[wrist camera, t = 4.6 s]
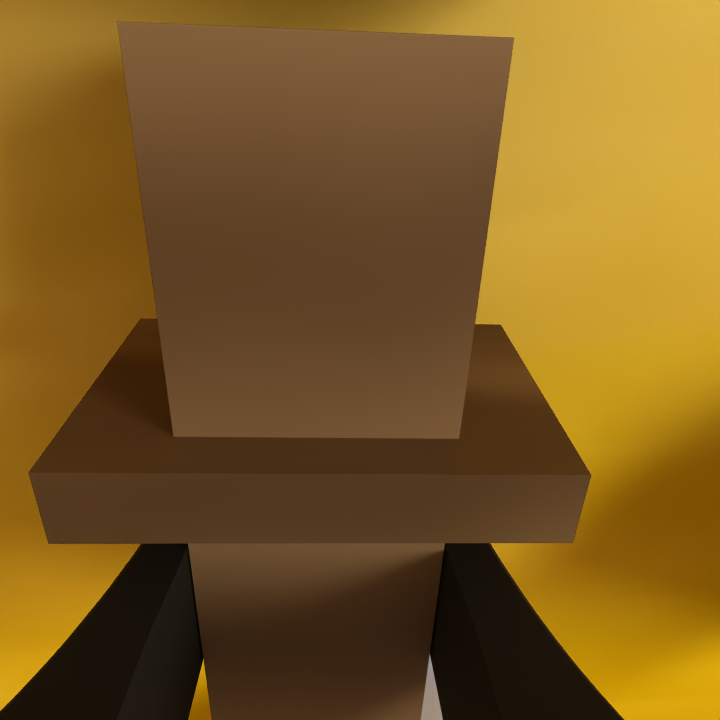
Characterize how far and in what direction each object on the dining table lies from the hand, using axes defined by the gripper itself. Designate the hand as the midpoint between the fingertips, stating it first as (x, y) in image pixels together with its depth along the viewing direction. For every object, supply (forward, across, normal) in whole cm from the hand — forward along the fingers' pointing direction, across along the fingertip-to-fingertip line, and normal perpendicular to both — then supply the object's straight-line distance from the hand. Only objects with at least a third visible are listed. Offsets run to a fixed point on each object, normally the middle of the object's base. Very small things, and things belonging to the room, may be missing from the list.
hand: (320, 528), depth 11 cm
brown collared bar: (+2, 0, -2) cm, 4 cm away
